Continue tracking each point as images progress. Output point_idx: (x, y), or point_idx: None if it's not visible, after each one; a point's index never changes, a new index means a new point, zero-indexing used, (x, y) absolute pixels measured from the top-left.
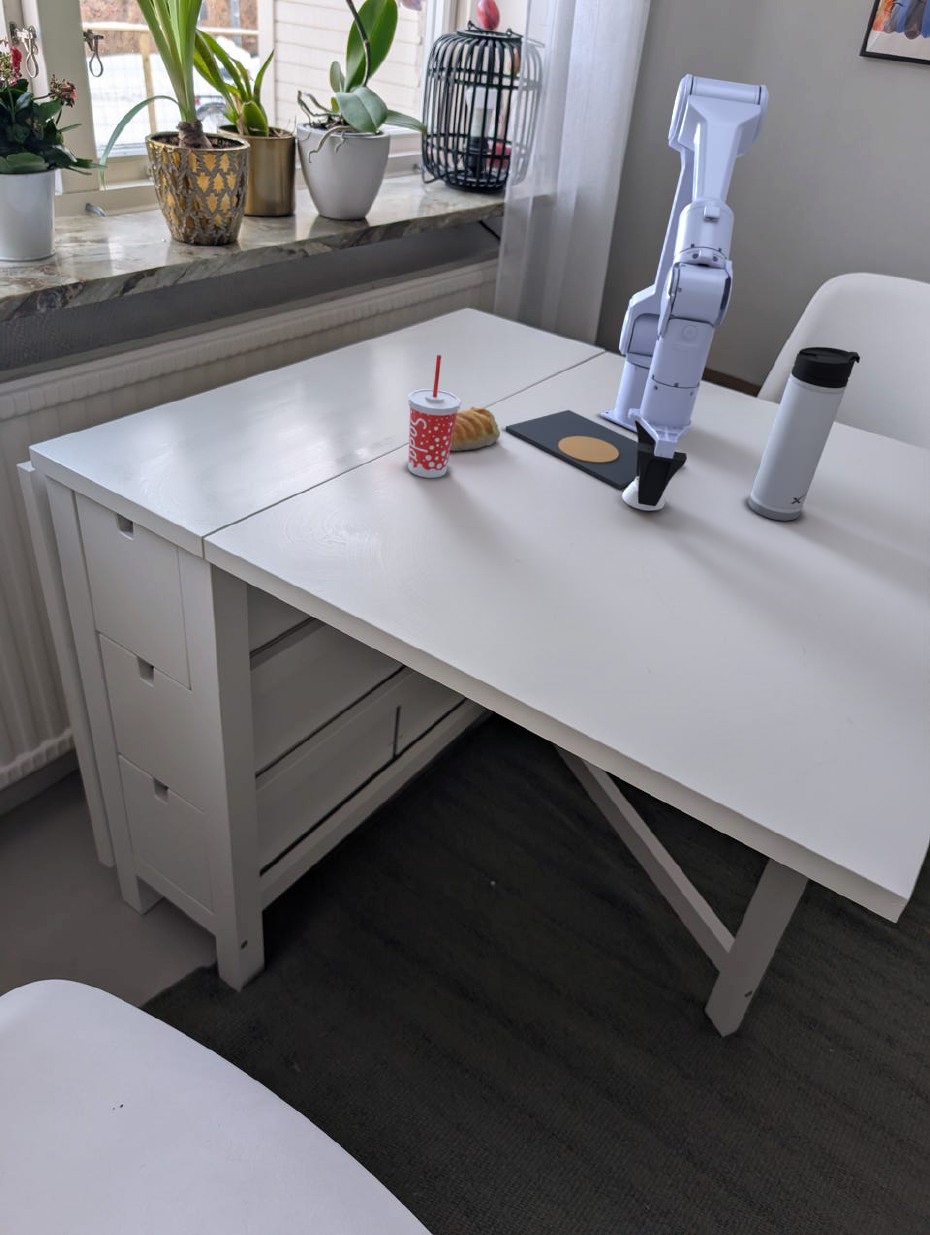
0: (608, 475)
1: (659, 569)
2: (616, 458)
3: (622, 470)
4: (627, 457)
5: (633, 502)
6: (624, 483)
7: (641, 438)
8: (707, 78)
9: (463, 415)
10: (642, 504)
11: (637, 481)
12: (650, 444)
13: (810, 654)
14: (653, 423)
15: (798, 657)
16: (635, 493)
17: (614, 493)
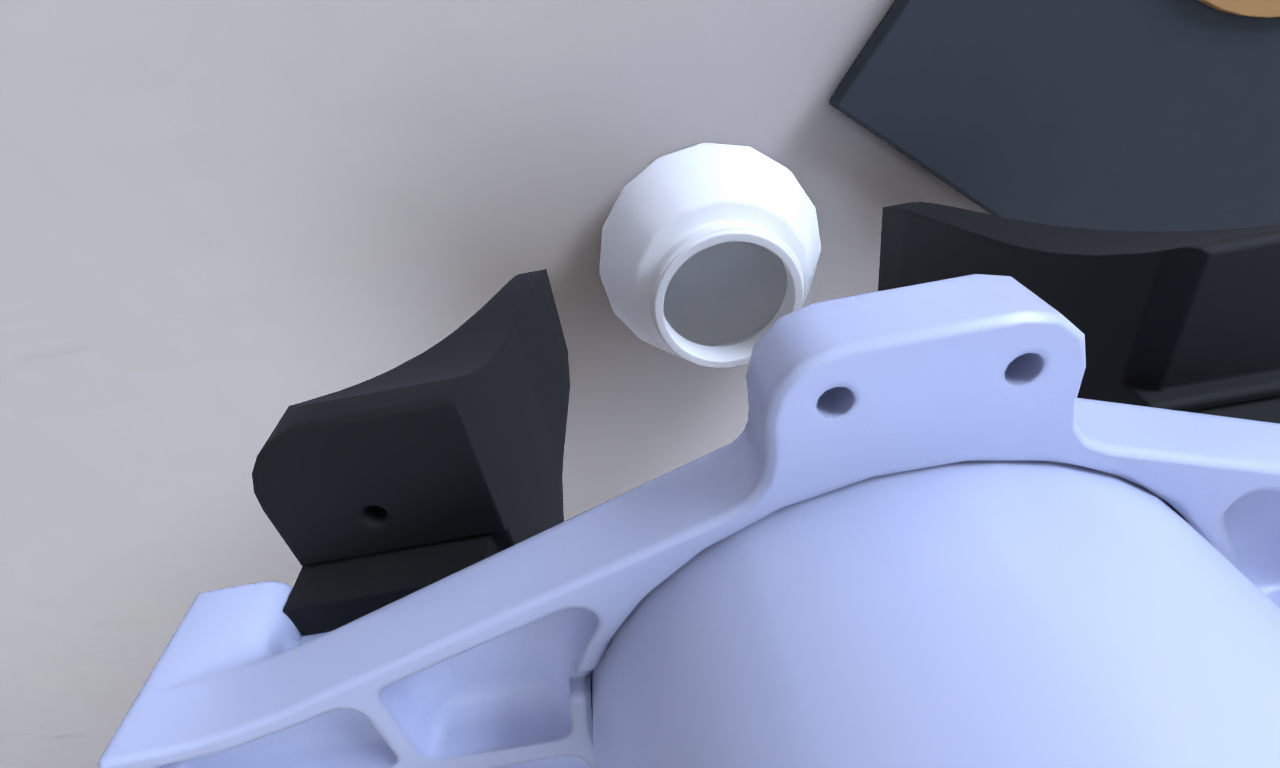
0: (950, 5)
1: (127, 406)
2: (1224, 11)
3: (1050, 83)
4: (1253, 80)
5: (612, 225)
6: (868, 128)
7: (1034, 281)
8: None
9: None
10: (605, 274)
11: (695, 251)
12: (498, 509)
13: (64, 745)
14: (577, 659)
15: (19, 731)
16: (639, 238)
17: (764, 84)
